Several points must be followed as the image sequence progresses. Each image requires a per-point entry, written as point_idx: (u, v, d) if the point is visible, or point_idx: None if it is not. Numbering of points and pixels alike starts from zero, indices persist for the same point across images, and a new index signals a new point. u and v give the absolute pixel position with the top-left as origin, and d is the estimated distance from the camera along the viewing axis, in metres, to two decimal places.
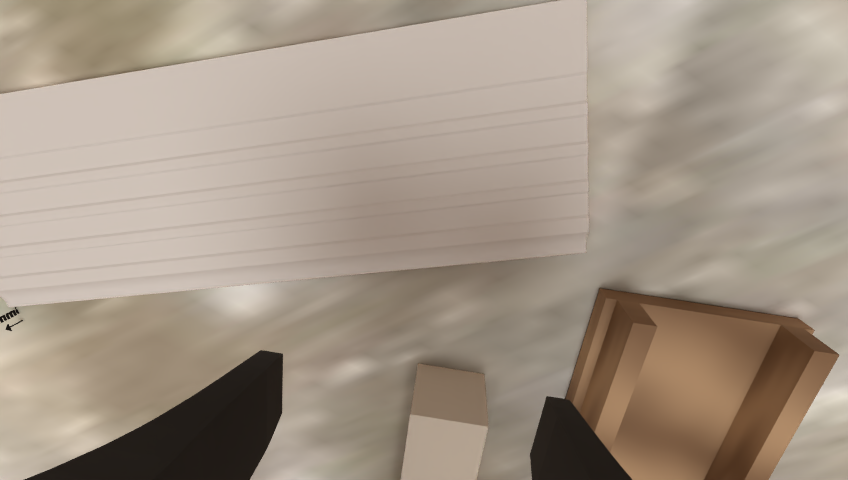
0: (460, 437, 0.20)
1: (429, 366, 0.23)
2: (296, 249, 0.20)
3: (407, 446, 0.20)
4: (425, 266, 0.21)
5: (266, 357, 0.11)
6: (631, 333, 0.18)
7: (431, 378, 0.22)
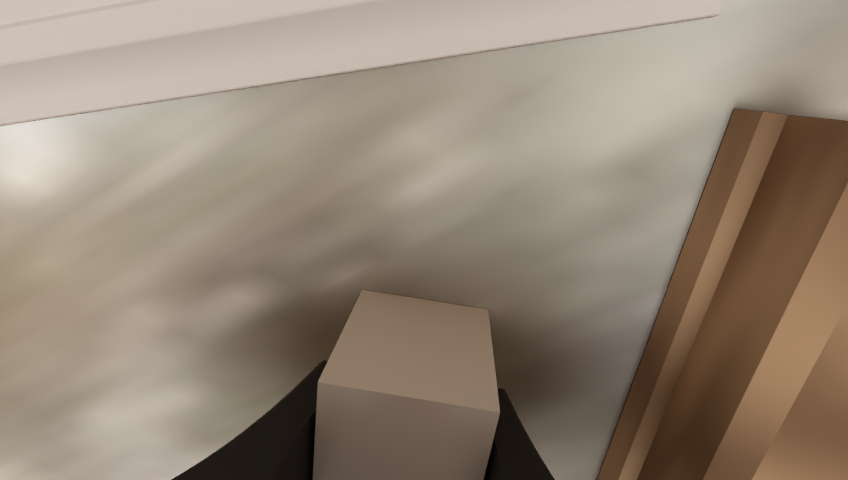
0: (434, 436, 0.09)
1: (382, 298, 0.12)
2: (85, 19, 0.09)
3: (318, 456, 0.09)
4: (366, 64, 0.10)
5: None
6: None
7: (382, 318, 0.11)
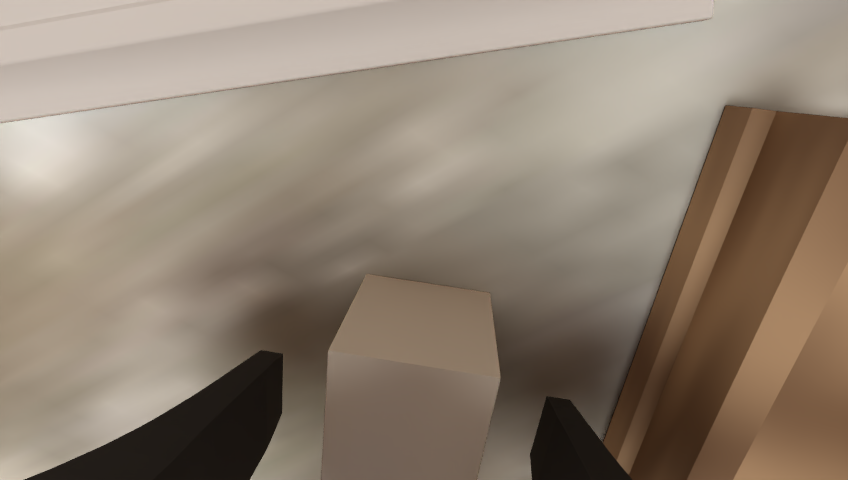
0: (439, 402, 0.09)
1: (387, 278, 0.12)
2: (100, 18, 0.10)
3: (328, 423, 0.10)
4: (372, 63, 0.10)
5: (266, 357, 0.11)
6: None
7: (387, 295, 0.11)
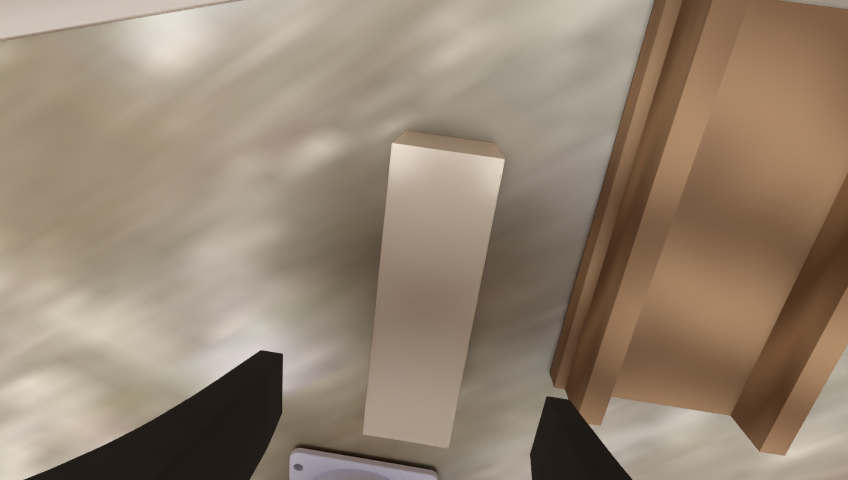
0: (464, 180, 0.14)
1: (421, 133, 0.17)
2: None
3: (388, 202, 0.14)
4: None
5: (266, 357, 0.11)
6: None
7: (424, 136, 0.16)
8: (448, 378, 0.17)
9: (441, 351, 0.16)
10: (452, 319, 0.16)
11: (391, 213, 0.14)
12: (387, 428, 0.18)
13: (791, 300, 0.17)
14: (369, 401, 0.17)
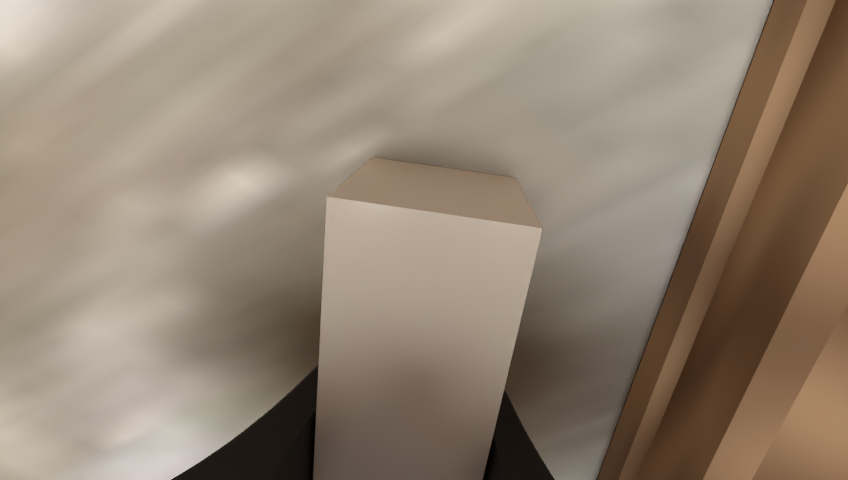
0: (464, 265, 0.07)
1: (395, 163, 0.11)
2: None
3: (326, 299, 0.08)
4: None
5: None
6: None
7: (397, 171, 0.10)
8: None
9: None
10: None
11: (332, 318, 0.08)
12: None
13: None
14: None
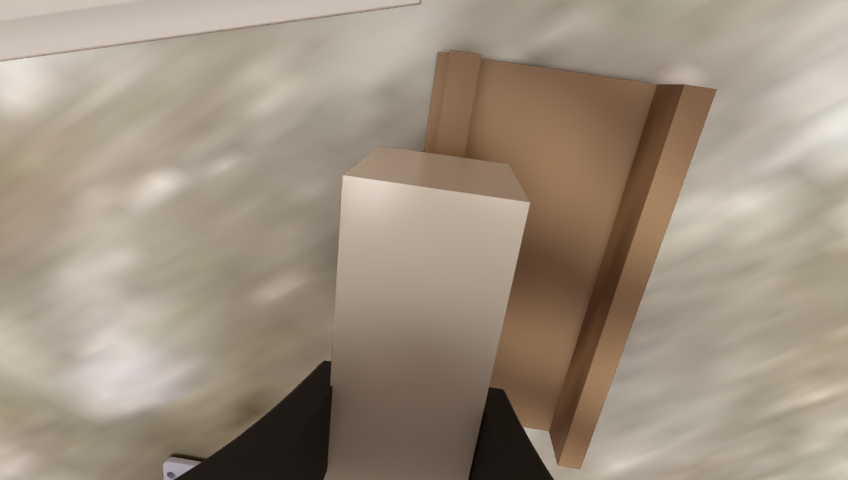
0: (462, 235, 0.08)
1: (400, 151, 0.12)
2: None
3: (341, 267, 0.09)
4: (225, 26, 0.16)
5: None
6: (450, 67, 0.14)
7: (402, 157, 0.11)
8: None
9: None
10: (444, 438, 0.10)
11: (346, 284, 0.09)
12: None
13: (583, 328, 0.19)
14: None
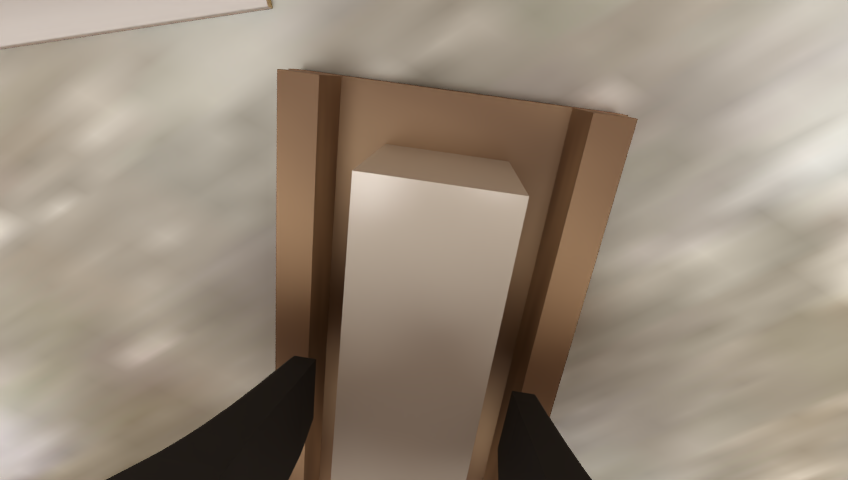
0: (465, 227, 0.09)
1: (405, 148, 0.12)
2: None
3: (350, 258, 0.09)
4: (31, 38, 0.13)
5: (300, 362, 0.11)
6: (279, 92, 0.10)
7: (407, 155, 0.11)
8: None
9: (431, 463, 0.11)
10: (448, 422, 0.11)
11: (355, 274, 0.10)
12: None
13: (502, 404, 0.15)
14: None
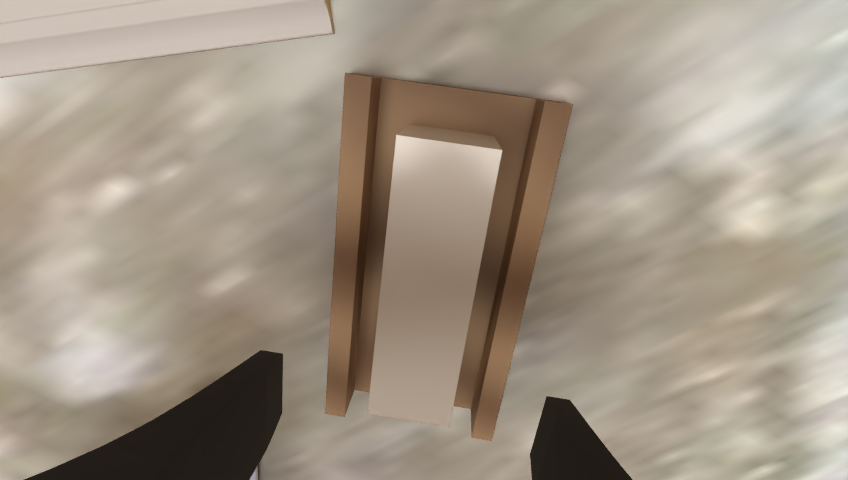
0: (464, 170, 0.15)
1: (423, 127, 0.18)
2: (18, 24, 0.18)
3: (393, 191, 0.15)
4: (166, 52, 0.19)
5: (266, 357, 0.11)
6: (345, 88, 0.16)
7: (426, 130, 0.17)
8: (449, 360, 0.17)
9: (442, 333, 0.17)
10: (452, 303, 0.17)
11: (395, 201, 0.15)
12: (391, 407, 0.18)
13: (491, 314, 0.21)
14: (374, 381, 0.18)
